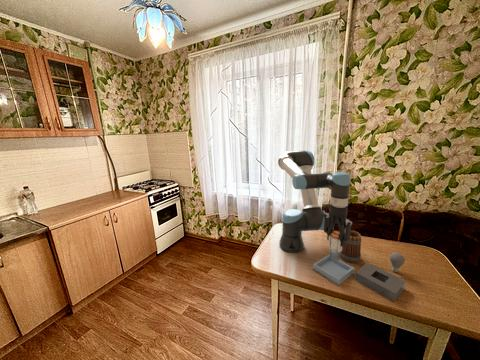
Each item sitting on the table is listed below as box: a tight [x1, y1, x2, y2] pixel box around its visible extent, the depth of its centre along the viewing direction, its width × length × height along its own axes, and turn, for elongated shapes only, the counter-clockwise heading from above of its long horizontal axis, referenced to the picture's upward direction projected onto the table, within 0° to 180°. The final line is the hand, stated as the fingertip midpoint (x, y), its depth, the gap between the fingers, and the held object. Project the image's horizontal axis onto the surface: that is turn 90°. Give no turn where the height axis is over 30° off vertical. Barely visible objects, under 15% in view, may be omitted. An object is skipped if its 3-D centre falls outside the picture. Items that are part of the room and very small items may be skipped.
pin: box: [328, 230, 340, 261], centre depth 98 cm, size 4×4×14 cm
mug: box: [339, 227, 362, 264], centre depth 113 cm, size 16×11×15 cm
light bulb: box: [389, 252, 406, 273], centre depth 99 cm, size 6×6×10 cm
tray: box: [312, 254, 355, 286], centre depth 101 cm, size 14×14×3 cm
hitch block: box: [354, 262, 407, 302], centre depth 92 cm, size 16×12×4 cm
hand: (334, 248), depth 98 cm, fingers closed on pin, 4 cm apart
